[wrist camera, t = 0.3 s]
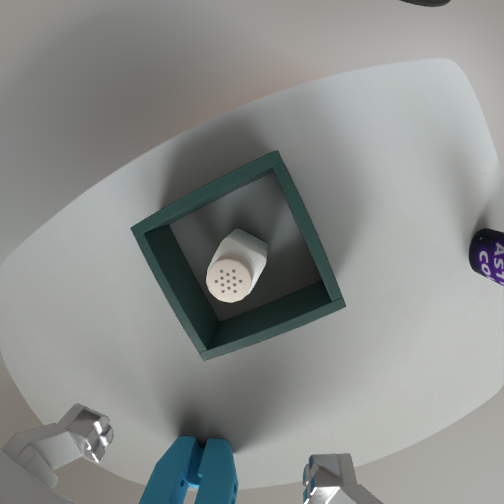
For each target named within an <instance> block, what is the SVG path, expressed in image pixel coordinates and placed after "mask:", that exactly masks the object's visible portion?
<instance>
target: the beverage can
mask: <svg viewBox="0 0 504 504" xmlns="http://www.w3.org/2000/svg"><path fill="white" fill-rule="evenodd" d="M469 261H470V265H471V267H472V269H473V270H474V271H475V272H477V273H479V274H481V275H483V276H485V277H487V278H489V279H491V280H493V281H495V282H497V283H498V284H500V285H502V286H504V233H503V232H499V231H495V230H491V229H487V228H483V229H481V230H479V231H478V232H477V233H476V234H475V236H474V237H473V239H472V241H471V243H470V247H469Z"/></svg>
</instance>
